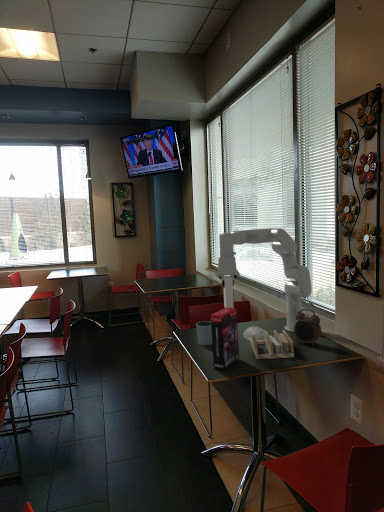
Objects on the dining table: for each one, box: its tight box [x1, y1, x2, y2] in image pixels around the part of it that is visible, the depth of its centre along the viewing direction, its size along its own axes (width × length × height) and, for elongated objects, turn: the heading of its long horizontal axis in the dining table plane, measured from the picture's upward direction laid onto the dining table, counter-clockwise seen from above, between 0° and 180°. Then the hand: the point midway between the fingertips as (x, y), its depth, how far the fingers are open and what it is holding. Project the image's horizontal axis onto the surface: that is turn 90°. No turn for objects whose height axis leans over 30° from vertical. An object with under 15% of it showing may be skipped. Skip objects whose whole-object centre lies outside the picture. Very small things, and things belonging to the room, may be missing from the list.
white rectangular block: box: [223, 275, 235, 308], centre depth 206 cm, size 4×16×18 cm, turn 179°
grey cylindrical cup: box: [195, 320, 212, 346], centre depth 217 cm, size 10×10×12 cm
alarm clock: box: [294, 308, 322, 347], centre depth 208 cm, size 15×7×20 cm, turn 47°
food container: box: [242, 325, 266, 342], centre depth 225 cm, size 16×25×7 cm, turn 15°
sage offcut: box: [268, 334, 281, 354], centre depth 201 cm, size 2×16×6 cm, turn 6°
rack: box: [250, 329, 295, 360], centre depth 201 cm, size 19×22×8 cm
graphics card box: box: [210, 307, 240, 371], centre depth 184 cm, size 17×7×27 cm, turn 148°
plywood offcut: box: [277, 333, 289, 353], centre depth 201 cm, size 2×15×7 cm, turn 179°
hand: (227, 286), depth 206 cm, fingers closed on white rectangular block, 4 cm apart
